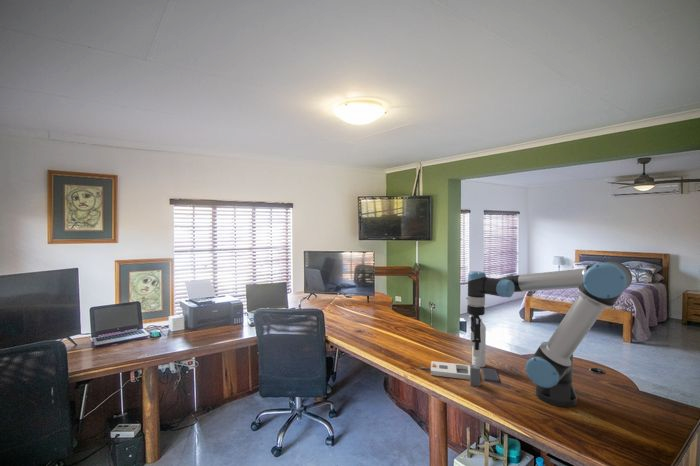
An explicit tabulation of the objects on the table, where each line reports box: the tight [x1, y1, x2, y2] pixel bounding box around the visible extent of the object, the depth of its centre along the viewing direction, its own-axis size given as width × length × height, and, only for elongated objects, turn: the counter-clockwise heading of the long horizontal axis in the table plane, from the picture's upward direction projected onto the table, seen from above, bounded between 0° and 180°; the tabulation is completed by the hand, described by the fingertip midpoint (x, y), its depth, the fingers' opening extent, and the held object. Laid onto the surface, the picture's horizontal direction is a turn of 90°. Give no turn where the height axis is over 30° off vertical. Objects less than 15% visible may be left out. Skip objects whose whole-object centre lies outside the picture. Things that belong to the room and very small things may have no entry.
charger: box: [469, 364, 481, 388], centre depth 156 cm, size 4×4×8 cm
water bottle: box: [469, 315, 487, 368], centre depth 178 cm, size 9×6×25 cm
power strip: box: [419, 360, 471, 381], centre depth 169 cm, size 28×12×3 cm, turn 75°
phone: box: [481, 367, 500, 383], centre depth 164 cm, size 6×12×2 cm, turn 164°
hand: (474, 351), depth 156 cm, fingers open, 13 cm apart
